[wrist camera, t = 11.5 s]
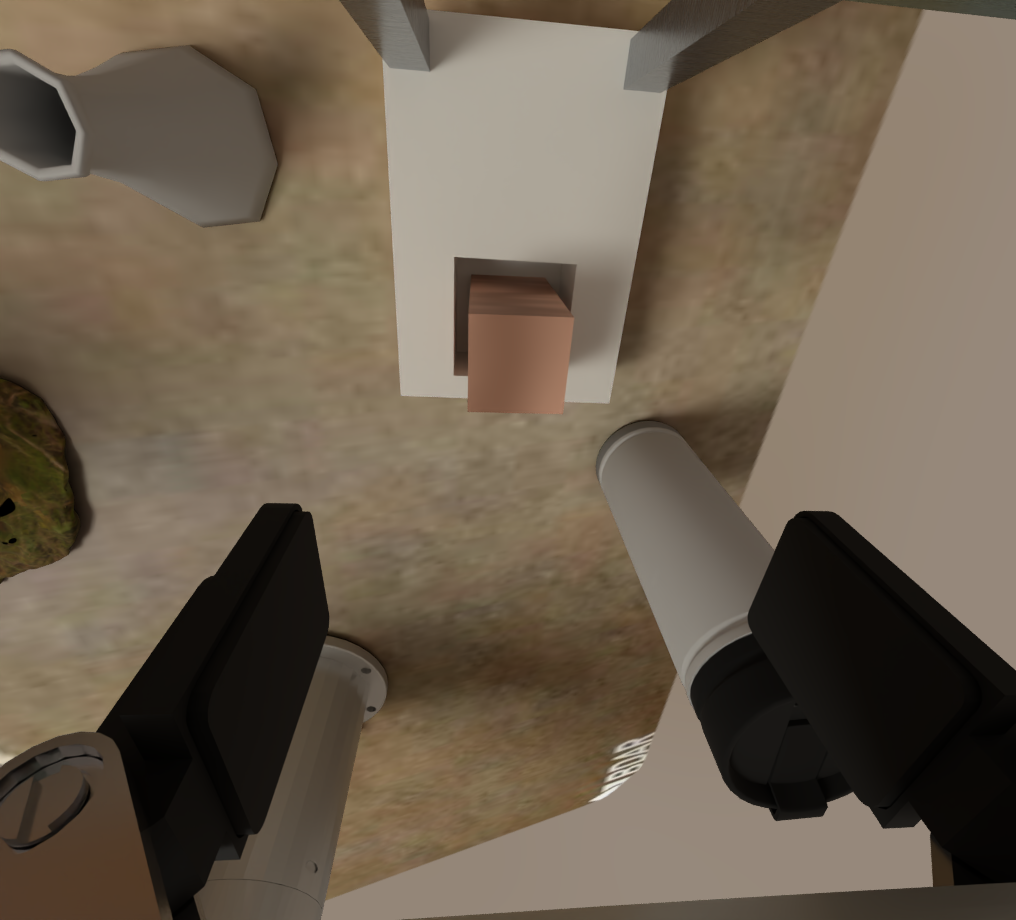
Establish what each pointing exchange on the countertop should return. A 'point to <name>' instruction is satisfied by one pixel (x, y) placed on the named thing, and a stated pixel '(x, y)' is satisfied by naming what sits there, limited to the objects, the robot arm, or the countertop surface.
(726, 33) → the street lamp
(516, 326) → the peg
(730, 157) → the countertop surface
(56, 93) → the flask
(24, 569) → the tree stump
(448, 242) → the socket block
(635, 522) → the travel mug
